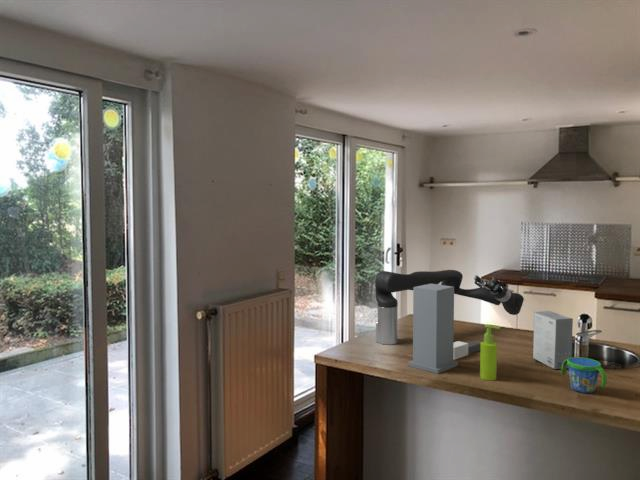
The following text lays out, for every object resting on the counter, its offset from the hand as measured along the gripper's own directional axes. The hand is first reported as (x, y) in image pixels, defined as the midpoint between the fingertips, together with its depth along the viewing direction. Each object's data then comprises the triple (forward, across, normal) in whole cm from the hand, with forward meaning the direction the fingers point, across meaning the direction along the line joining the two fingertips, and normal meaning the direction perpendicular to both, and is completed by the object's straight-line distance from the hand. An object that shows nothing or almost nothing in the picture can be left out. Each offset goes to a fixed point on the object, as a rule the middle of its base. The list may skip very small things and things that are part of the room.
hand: (484, 278), depth 234 cm
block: (-2, -1, +35) cm, 35 cm away
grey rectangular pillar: (+19, 0, +46) cm, 50 cm away
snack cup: (+5, +52, +39) cm, 65 cm away
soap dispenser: (+16, +23, +45) cm, 53 cm away
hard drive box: (-14, +32, +28) cm, 45 cm away
